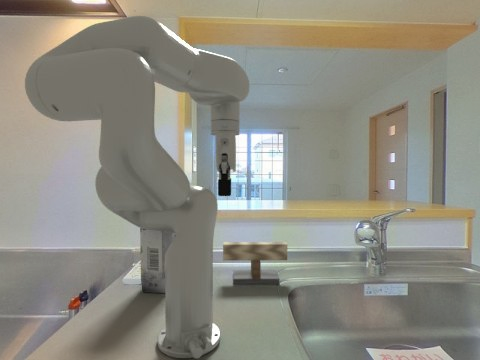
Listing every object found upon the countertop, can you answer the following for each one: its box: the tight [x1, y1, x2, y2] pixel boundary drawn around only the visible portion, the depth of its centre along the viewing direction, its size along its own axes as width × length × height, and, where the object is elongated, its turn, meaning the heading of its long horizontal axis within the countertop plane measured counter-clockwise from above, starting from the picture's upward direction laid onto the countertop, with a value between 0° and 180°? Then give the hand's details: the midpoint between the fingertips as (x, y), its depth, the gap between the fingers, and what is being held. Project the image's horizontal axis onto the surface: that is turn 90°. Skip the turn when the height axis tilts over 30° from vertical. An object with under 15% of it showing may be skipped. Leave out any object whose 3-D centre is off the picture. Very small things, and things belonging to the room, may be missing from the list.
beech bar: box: [222, 241, 288, 261], centre depth 93 cm, size 20×3×5 cm, turn 91°
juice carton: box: [139, 227, 176, 294], centre depth 87 cm, size 9×10×27 cm
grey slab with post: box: [232, 260, 281, 285], centre depth 94 cm, size 8×14×6 cm, turn 91°
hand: (225, 194), depth 78 cm, fingers open, 9 cm apart
